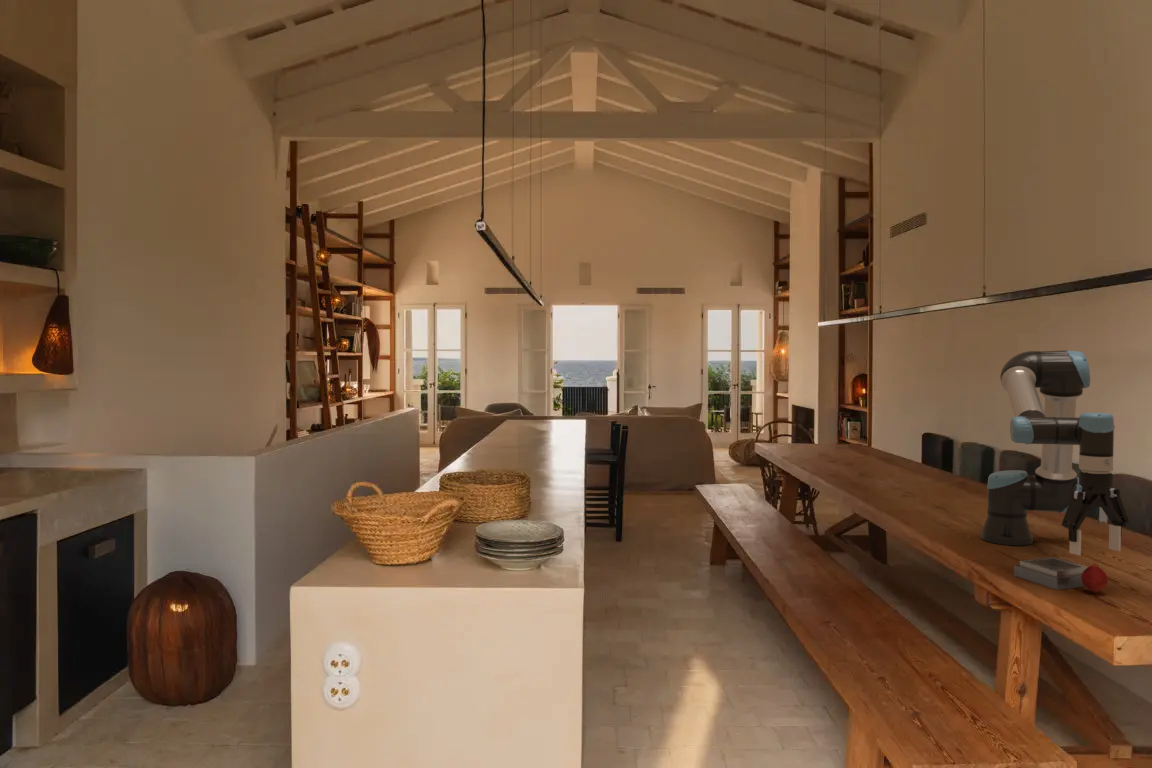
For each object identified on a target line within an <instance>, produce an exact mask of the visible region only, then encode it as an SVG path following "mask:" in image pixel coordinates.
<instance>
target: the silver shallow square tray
mask: <svg viewBox="0 0 1152 768" xmlns="http://www.w3.org/2000/svg"><path fill="white" fill-rule="evenodd" d="M1088 567H1089V566H1087V565H1083V564H1079V563H1075V562H1073V561H1068V560H1065V559H1061V558H1059V557H1058V558H1057V557H1055V556H1048V557H1042V558H1031V559H1026V560H1025V559H1024V560H1019V564H1015V565H1014V566H1013V576H1014V577H1016V576H1018V577H1017V578H1019V577H1020V578H1019V579H1022V578H1023V579H1022V580H1025V579H1026V581H1028V580H1029V582H1032V583H1034V584H1038V585H1041V586H1043V587H1047V588H1051V589H1053V590H1057V591H1058V590H1066V589H1067V590H1068V589H1074V588H1081V587H1085V586H1084V584H1083V582H1082V580H1081V576H1082V573H1083V571H1084V570H1085V569H1086V568H1088Z"/></svg>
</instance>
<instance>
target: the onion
mask: <svg viewBox="0 0 1152 768" xmlns="http://www.w3.org/2000/svg"><path fill="white" fill-rule="evenodd" d="M1087 567H1088V568H1086V569H1085V570H1084V571H1083V573H1082V576H1081V580H1082V582H1083V584H1084V586H1083V587H1085V588H1086V589H1088V590H1089V591H1090V592H1092V593H1093V594H1097V593H1099V592H1100V591H1103V589H1105V588H1106V587H1107V585H1108V583H1109V578H1108V575H1107V574H1106V572H1105V571H1104V570H1103V568H1101V567H1099V564H1098V563H1097V562H1094V563H1092V565H1089V566H1087Z"/></svg>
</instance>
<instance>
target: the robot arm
mask: <svg viewBox="0 0 1152 768" xmlns="http://www.w3.org/2000/svg"><path fill="white" fill-rule="evenodd" d="M1086 356H1087V355H1085V354H1084V353H1083V352H1082V351H1078V350H1077V351H1076V350H1068V349H1066V350H1042V351H1040V350H1039V351H1038V350H1037V351H1036V350H1030V351H1024V352H1021V353H1018V354H1016V355H1014V356H1013V357H1011V358H1010V359H1009V360H1007V362H1006V363H1005V364H1004V365H1003V367H1002V369H1001V372H1000V374H999V375H1000V376H999V377H1000V378H999V380H1000V383H1001V386H1002V388H1003V389H1004V390H1005V391H1006V392H1007V394H1008V397H1009V401H1010V405H1011V408H1012V412H1013V415H1014V416H1013V417H1012V418H1011V419H1010V425H1009V433H1010V439H1011V441H1012V442H1013V443H1015V444H1025V445H1032V444H1033V445H1041V458H1040V466H1038V467H1037V468H1036V469H1035V471H1034V473H1035V474H1034V475H1029V473H1028V472H1027V471H1026V470H1023V469H1022V470H1021V469H1019V470H1017V469H1016V470H1015V469H1012V470H1009V469H1008V470H1000V471H995V472H992V473H990V474H989V476H988V479H987V485H986V488H987V489H986V490H987V508H986V509H987V515H986V520H985V522H984V525H983V528H982V529H981V532H980V533H981V539H982V540H984V542H985V541H986V542H989V543H993V544H996V545H997V544H998V545H1005V546H1027V545H1028V546H1029V545H1032V544H1033V541H1034V539H1033V536H1034V535H1033V534H1032V533H1031V528H1030V524H1029V522H1028V516H1027V515H1028V511H1029V512H1030V511H1031V512H1033V511H1034V512H1046V513H1047V512H1050V513H1058V514H1062V513H1065V514H1064V517H1063V519H1062V521H1061V526H1062V527H1064V528H1066V529H1067V530H1068V541H1069V554H1073V555H1076V556H1081V555H1082V529H1080V527H1081V525H1082V524H1083V523H1084V521H1085V519H1086V518H1087V516H1088V515H1089V513H1090V511H1092V510H1093V509H1094V508H1095V509H1096V508H1101V509H1102V511H1103V512H1104V514H1105V515H1106V516H1107V519H1108V520H1109V521H1110V523H1111V524H1109V525H1108V549H1109V550H1113V551H1115V552H1116V551H1117V552H1121V551H1122V550H1121V548H1122V544H1121V543H1122V541H1121V539H1122V536H1123V535H1122V534H1123V531H1122V529H1123V527H1126V526H1127V524H1128V523H1129V521H1130V520H1129V517H1128V514H1127V511H1126V509H1125V507H1124V504H1123V501H1122V499H1121V490H1120V489H1119V488H1113V487H1114V474H1113V473H1112V472H1113V471H1114V444H1115V443H1114V441H1115V440H1114V439H1115V437H1114V436H1115V435H1114V434H1115V432H1114V431H1115V425H1114V422H1115V421H1114V420H1115V419H1114V416H1113V414H1111V413H1106V412H1092V411H1091V412H1082V413H1081V414H1080V415H1079V417H1076V412H1077V411H1076V408H1077V399H1079V398H1080V397H1081V396H1082V395H1083V390H1084V389H1087V388H1089V387H1090V385H1091V374H1090V373H1091V372H1090V367H1089V366H1090V365H1089V361H1088V358H1087V357H1086ZM1037 388H1039V394H1041V395H1042V396H1043V397H1044V405H1042V401H1041V399H1040V397H1039V394H1038V391H1037ZM1043 406H1044V407H1043ZM1074 446H1079V452H1078V453H1079V455H1078V456H1079V457H1078V469H1079V470H1080V472H1079V473H1078V474H1077V472H1076V471H1075V470H1074V469H1073V453H1074V451H1073V450H1074ZM1077 475H1078V476H1077Z"/></svg>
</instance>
